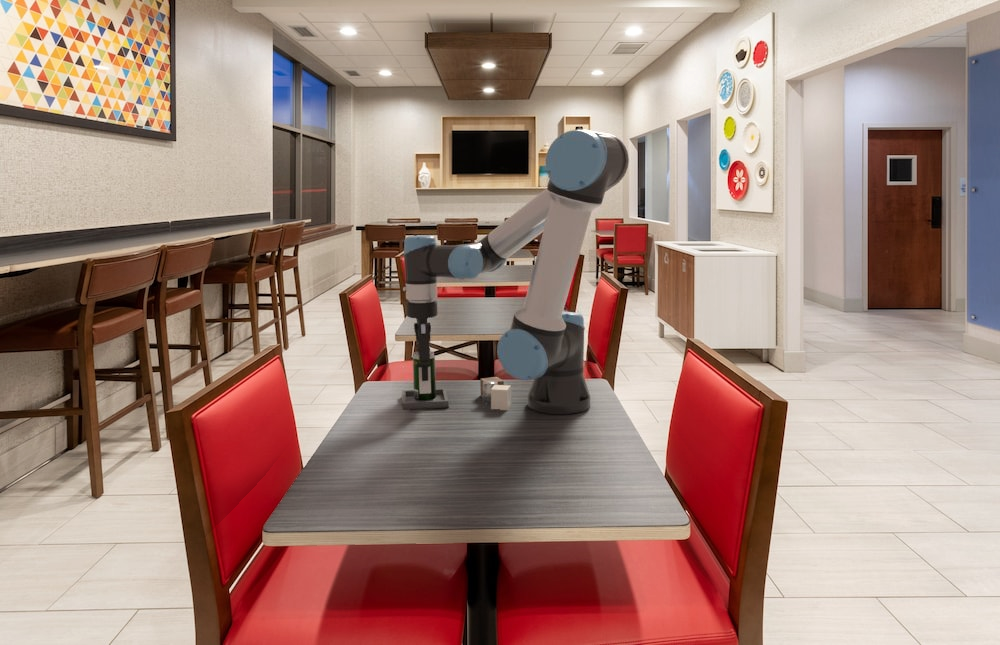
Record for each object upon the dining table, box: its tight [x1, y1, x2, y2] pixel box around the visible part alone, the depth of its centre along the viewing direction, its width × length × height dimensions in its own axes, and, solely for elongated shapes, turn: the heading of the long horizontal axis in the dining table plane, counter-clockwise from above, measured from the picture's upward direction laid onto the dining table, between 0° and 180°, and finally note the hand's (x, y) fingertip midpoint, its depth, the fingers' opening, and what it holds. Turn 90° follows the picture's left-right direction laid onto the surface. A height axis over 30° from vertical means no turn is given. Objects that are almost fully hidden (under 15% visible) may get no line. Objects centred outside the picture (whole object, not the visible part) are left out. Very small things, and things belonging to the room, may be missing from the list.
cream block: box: [490, 384, 512, 411], centre depth 169 cm, size 4×4×5 cm
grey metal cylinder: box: [482, 381, 498, 405], centre depth 173 cm, size 4×4×5 cm
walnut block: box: [479, 376, 505, 398], centre depth 178 cm, size 4×4×4 cm
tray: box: [401, 387, 450, 411], centre depth 175 cm, size 11×11×2 cm
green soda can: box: [412, 350, 437, 402], centre depth 173 cm, size 5×5×12 cm
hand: (424, 385), depth 174 cm, fingers open, 13 cm apart
